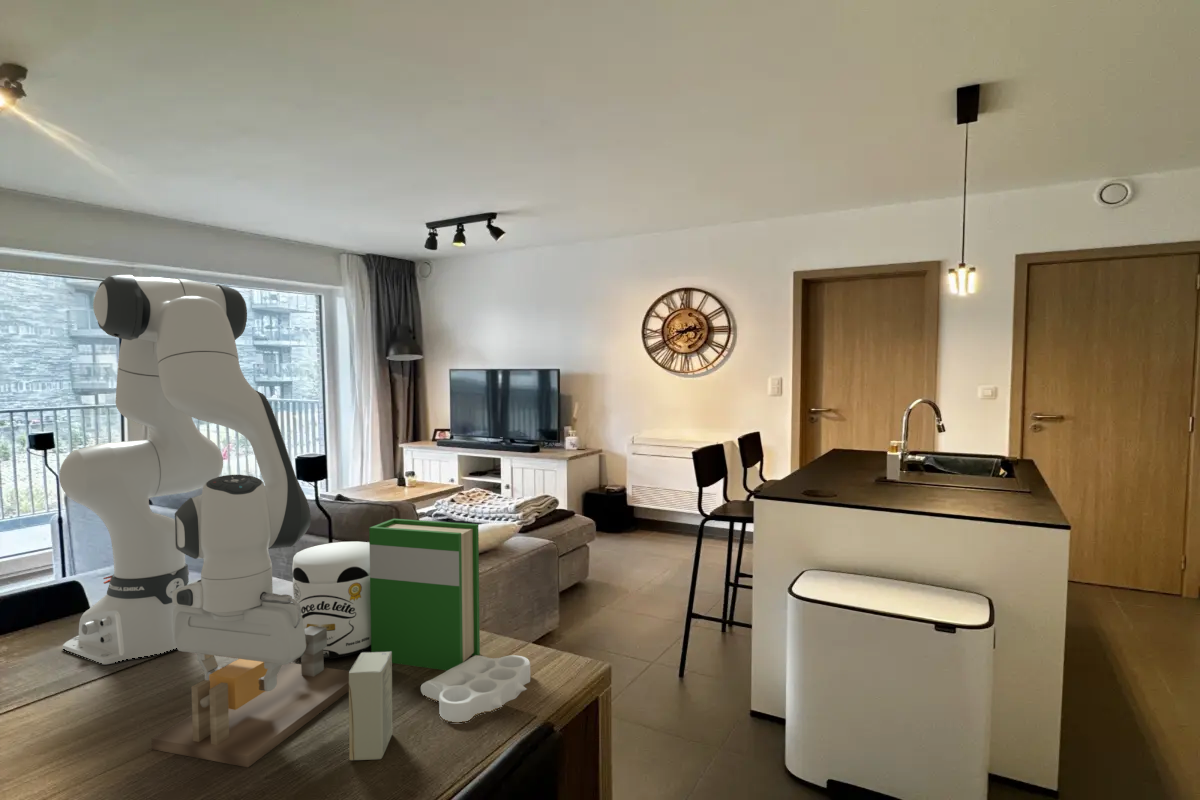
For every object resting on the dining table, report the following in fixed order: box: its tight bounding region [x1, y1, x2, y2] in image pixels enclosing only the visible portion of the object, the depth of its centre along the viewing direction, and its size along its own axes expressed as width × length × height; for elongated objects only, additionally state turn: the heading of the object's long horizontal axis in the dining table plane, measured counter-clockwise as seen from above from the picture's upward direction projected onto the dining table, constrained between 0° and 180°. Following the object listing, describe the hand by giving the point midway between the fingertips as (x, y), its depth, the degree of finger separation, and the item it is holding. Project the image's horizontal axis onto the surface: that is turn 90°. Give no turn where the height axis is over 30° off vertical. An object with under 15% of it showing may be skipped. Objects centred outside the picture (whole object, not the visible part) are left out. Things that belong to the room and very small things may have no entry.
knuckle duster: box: [420, 654, 531, 722], centre depth 102 cm, size 3×18×15 cm
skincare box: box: [348, 651, 393, 761], centre depth 87 cm, size 6×4×12 cm
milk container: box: [291, 541, 371, 660], centre depth 119 cm, size 17×17×18 cm
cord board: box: [151, 626, 350, 768], centre depth 96 cm, size 16×24×9 cm, turn 165°
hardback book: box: [368, 518, 481, 671], centre depth 115 cm, size 18×7×24 cm, turn 74°
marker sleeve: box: [209, 659, 268, 710], centre depth 91 cm, size 4×6×4 cm
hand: (240, 685), depth 91 cm, fingers open, 8 cm apart
